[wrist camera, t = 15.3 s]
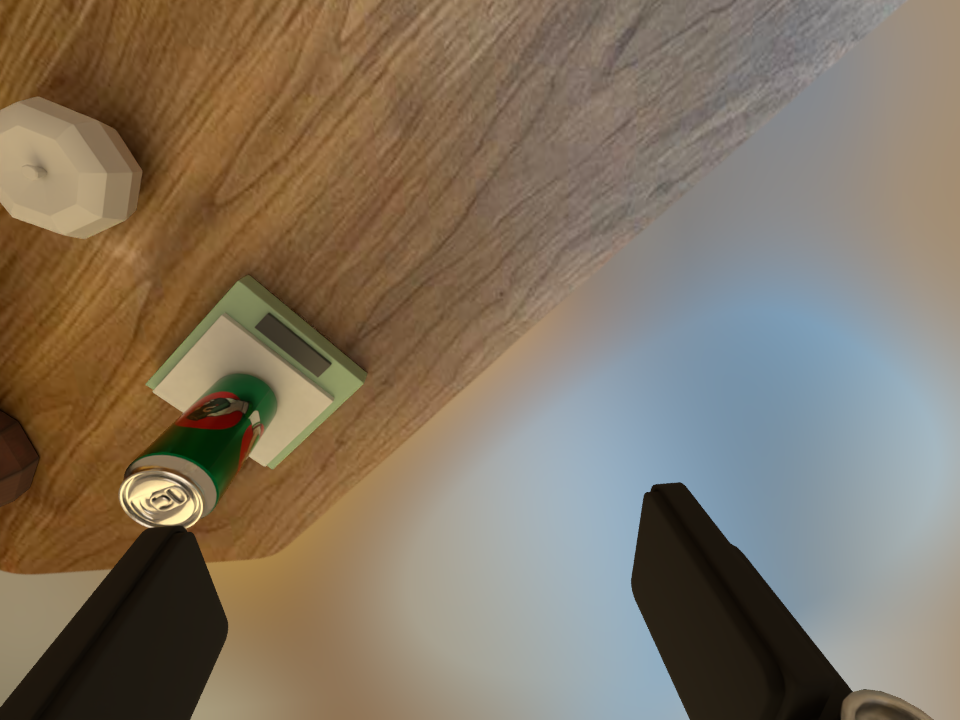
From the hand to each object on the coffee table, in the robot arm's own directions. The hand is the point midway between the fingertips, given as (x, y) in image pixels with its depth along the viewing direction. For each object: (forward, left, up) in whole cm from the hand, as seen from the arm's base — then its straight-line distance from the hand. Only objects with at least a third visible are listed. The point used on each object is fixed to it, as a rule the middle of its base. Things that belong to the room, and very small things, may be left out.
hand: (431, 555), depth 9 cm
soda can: (+16, +9, -26) cm, 32 cm away
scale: (+15, +8, -28) cm, 33 cm away
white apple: (+22, -8, -28) cm, 37 cm away
